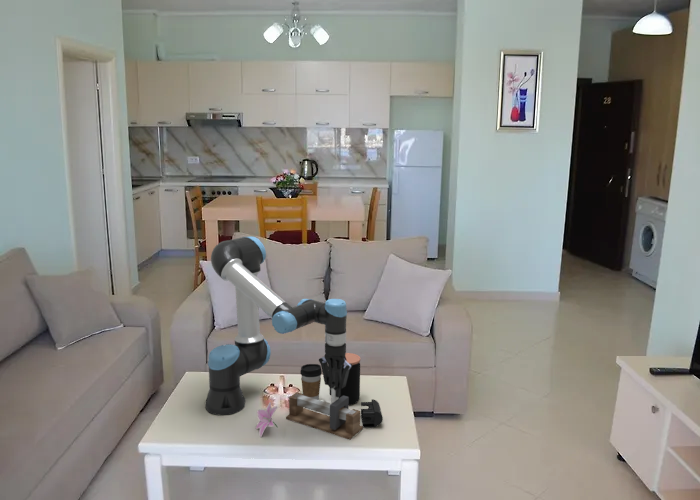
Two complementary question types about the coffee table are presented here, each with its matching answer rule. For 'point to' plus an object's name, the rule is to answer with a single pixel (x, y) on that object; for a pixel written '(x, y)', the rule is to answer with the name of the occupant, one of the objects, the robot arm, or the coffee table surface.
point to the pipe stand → (322, 416)
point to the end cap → (371, 414)
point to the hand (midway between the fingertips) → (334, 404)
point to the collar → (334, 411)
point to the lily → (265, 418)
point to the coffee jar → (352, 379)
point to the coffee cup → (311, 380)
